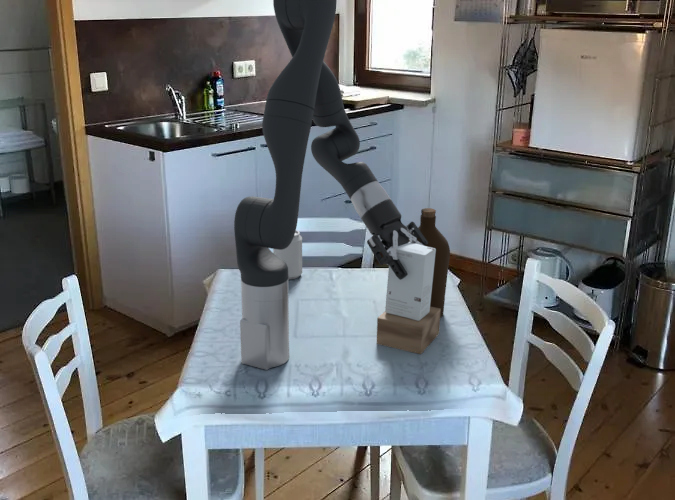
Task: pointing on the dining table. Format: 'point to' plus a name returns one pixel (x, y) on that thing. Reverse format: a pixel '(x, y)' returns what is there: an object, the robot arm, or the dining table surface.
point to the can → (292, 256)
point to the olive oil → (436, 256)
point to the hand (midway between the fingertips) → (416, 272)
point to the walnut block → (408, 331)
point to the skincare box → (411, 282)
